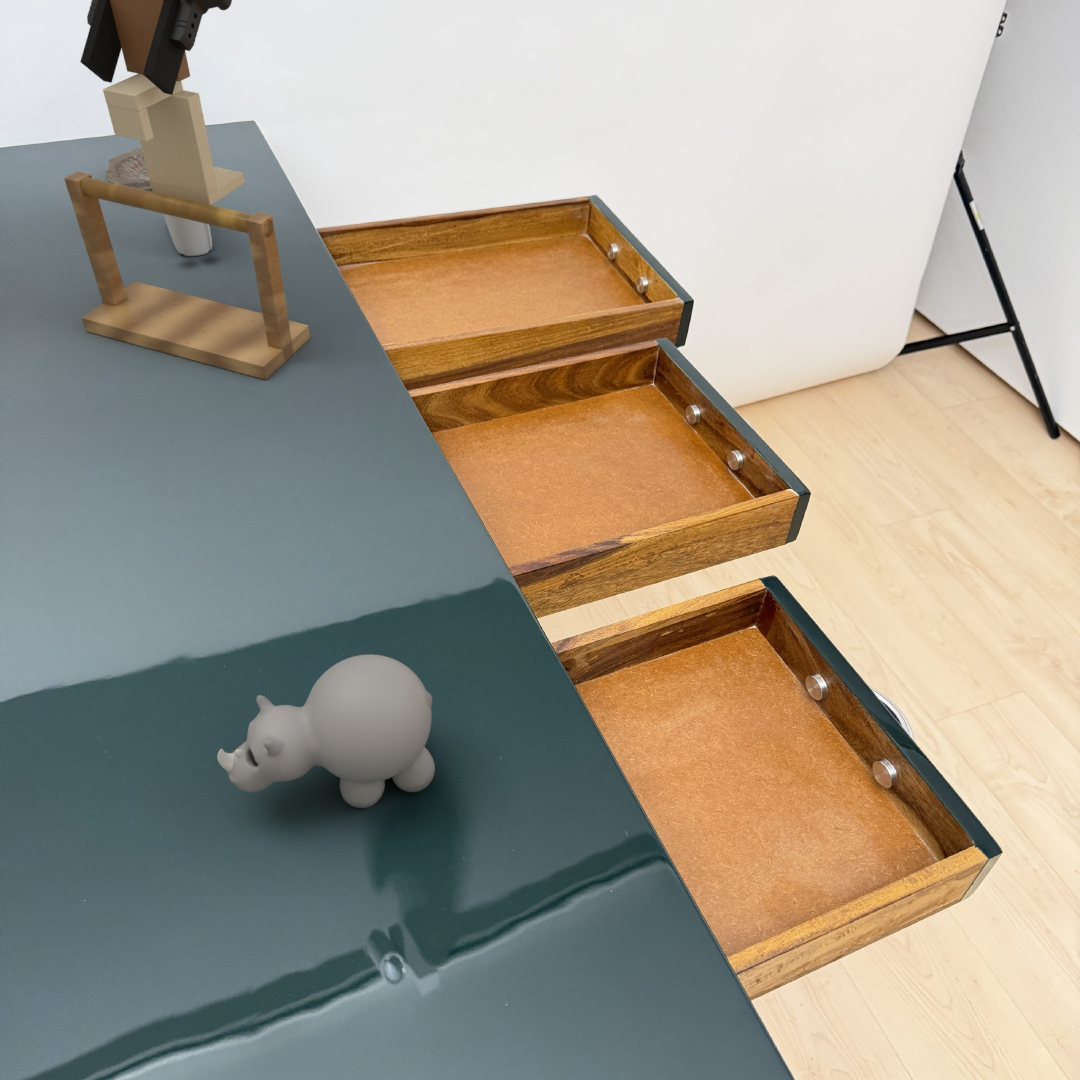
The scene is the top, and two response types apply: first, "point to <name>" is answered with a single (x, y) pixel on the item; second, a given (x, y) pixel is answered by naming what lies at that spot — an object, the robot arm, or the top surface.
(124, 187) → the stand
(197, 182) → the beige and brown blocks
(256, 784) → the round bodied animal figurine
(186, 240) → the white rounded oblong piece
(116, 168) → the fossil
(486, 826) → the top surface
